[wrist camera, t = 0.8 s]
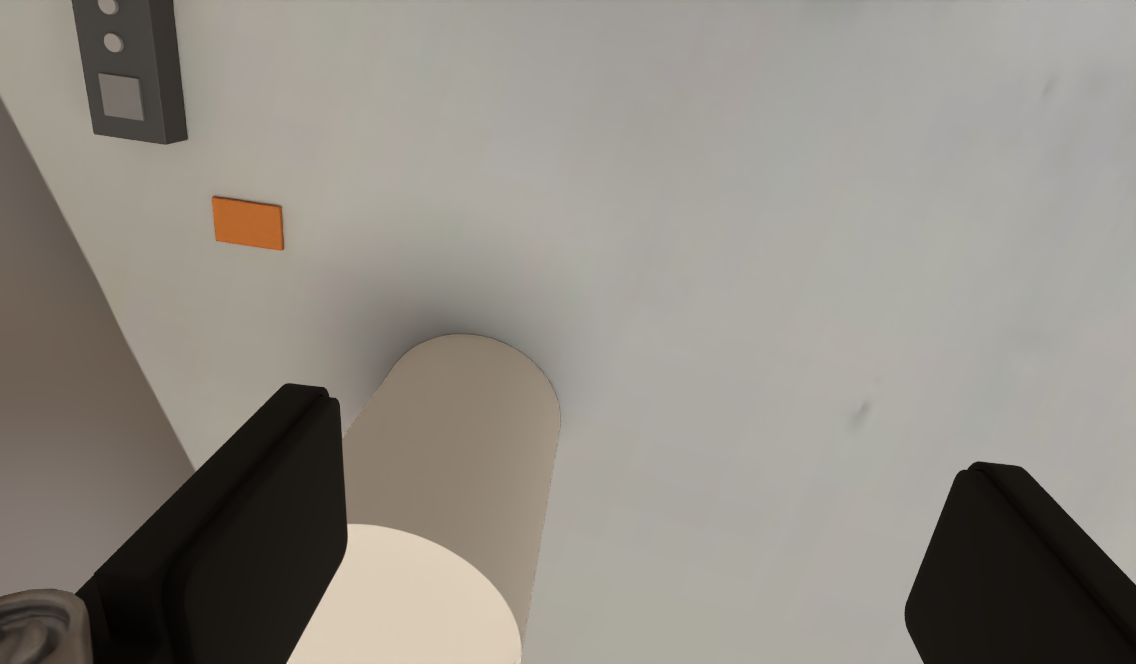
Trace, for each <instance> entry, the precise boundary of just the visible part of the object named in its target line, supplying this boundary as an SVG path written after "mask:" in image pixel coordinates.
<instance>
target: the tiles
mask: <svg viewBox="0 0 1136 664" xmlns="http://www.w3.org/2000/svg"><path fill="white" fill-rule="evenodd" d="M212 204H213V214H214V225H215V235H216V241H221V242H227V243H234V244H241V245H247V246H254V247H261V248H267V249H274V250H281V251H282V250H284V244H283V226H282V207H280V206H273V205H267V204H260V203H253V202H246V201H239V200H233V199H226V198H219V197H212Z"/></svg>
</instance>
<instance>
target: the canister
mask: <svg viewBox="0 0 1136 664" xmlns="http://www.w3.org/2000/svg"><path fill="white" fill-rule="evenodd" d="M560 425H561V417H560V409H559V404H558V400H557V397H556V394H555V392H554V390H553V388H552V386H551V384H550V382H549V381H548V379H547V378H546V376H545V375H544V374H543V372H542V371H541V370H540V369H539V368H538V367H537V365H536V364H534V363H533V362H532V361H531V360H530V359H529V358H528V357H526V356H525V355H524V354H522V353H521V352H519V351H518V350H516V349H515V348H513V347H511V346H509V345H507V344H505V343H502V342H500V341H497V340H494V339H491V338H488V337H483V336H478V335H470V334H453V335H445V336H440V337H436V338H433V339H430V340H427V341H425V342H423V343H421V344H419V345H417V346H415V347H414V348H412V349H411V350H409V351H408V352H407V353H405V354H404V355H403V356H402V357H401V358H400V359H399V360H398V361H397V363H396V364H395V365H394V367H393V368H392V369H391V371H390V372H389V374H388V375H387V376H386V378H385V379H384V381H383V382H382V383H381V385H380V386H379V388H378V389H377V390H376V392H375V393H374V395H373V396H372V397H371V399H370V400H369V402H368V403H367V405H366V406H365V407H364V409H363V410H362V412H361V413H360V414H359V416H358V417H357V419H356V420H355V421H354V423H353V424H352V426H351V427H350V428H349V430H348V431H347V433H346V434H345V435H344V437H343V438H342V448H343V465H344V481H345V497H346V514H347V530H348V542H347V548H346V552H345V555H344V558H343V560H342V563H341V564H340V566H339V568H338V570H337V572H336V574H335V575H334V577H333V579H332V581H331V583H330V585H329V586H328V588H327V590H326V592H325V594H324V596H323V597H322V599H321V601H320V603H319V605H318V607H317V608H316V610H315V612H314V614H313V616H312V618H311V619H310V621H309V623H308V625H307V627H306V629H305V630H304V632H303V634H302V636H301V638H300V640H299V641H298V643H297V645H296V647H295V649H294V651H293V652H292V654H291V656H290V658H289V660H288V662H287V663H286V664H520V662H521V656H522V650H523V644H524V639H525V633H526V627H527V621H528V615H529V609H530V603H531V597H532V592H533V586H534V580H535V574H536V568H537V562H538V556H539V550H540V545H541V539H542V533H543V527H544V521H545V515H546V509H547V504H548V498H549V492H550V486H551V480H552V474H553V468H554V462H555V457H556V451H557V445H558V439H559V433H560Z"/></svg>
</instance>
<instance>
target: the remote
mask: <svg viewBox="0 0 1136 664" xmlns="http://www.w3.org/2000/svg"><path fill="white" fill-rule="evenodd" d="M72 5H73V11H74V17H75V23H76V29H77V35H78V41H79V47H80V53H81V59H82V65H83V71H84V77H85V83H86V89H87V95H88V101H89V107H90V113H91V119H92V125H93V131H94V134H97V135H104V136H110V137H117V138H124V139H131V140H138V141H145V142H151V143H158V144H165V145H166V144H171V143H175V142H179V141H184V140H187V131H186V122H185V113H184V104H183V95H182V85H181V76H180V67H179V58H178V49H177V39H176V30H175V21H174V12H173V3H172V0H72Z"/></svg>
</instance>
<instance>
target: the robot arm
mask: <svg viewBox="0 0 1136 664" xmlns="http://www.w3.org/2000/svg"><path fill="white" fill-rule="evenodd" d="M347 542H348V530H347V514H346V497H345V481H344V465H343V448H342V432H341V416H340V405H339V401H338V400H337V399H336V398H331V397H329V393H328V391H327V389H325V388H324V387H317V386H308V385H300V384H291V383H288V384H285V385H283V386H282V387H281V388H280V389H279V390H278V391H277V392H276V393H275V394H274V395H273V396H272V397H271V398H270V399H269V400H268V401H267V402H266V403H265V404H264V405H263V406H262V407H261V408H260V409H259V410H258V411H257V412H256V413H255V414H254V415H253V416H252V417H251V418H250V419H249V420H248V421H247V422H246V423H245V424H244V425H243V426H242V427H241V428H240V429H239V430H238V431H237V432H236V433H235V434H234V435H233V436H232V437H231V438H230V439H229V440H228V441H227V442H226V443H225V444H224V445H223V446H222V447H221V448H220V449H219V450H218V451H217V452H216V453H215V454H214V455H212V456H211V457H210V458H209V459H208V460H207V461H206V462H205V463H204V464H203V465H202V466H201V467H200V468H199V469H198V470H197V471H196V472H195V473H194V474H193V475H192V477H191V478H189V479H188V480H187V481H186V482H185V483H184V484H183V485H182V487H180V488H179V490H178V491H176V492H175V493H174V494H173V495H172V496H171V497H170V498H169V499H168V500H167V501H166V502H165V503H164V504H163V505H162V506H161V507H160V508H159V509H158V510H157V511H156V512H155V513H154V514H153V515H152V516H151V517H150V518H149V519H148V520H147V521H146V522H145V523H144V524H143V525H142V526H141V527H140V528H139V529H138V530H137V531H136V532H135V533H134V534H133V535H132V536H131V537H130V538H129V539H128V540H127V541H126V542H125V543H124V544H123V545H122V546H121V547H120V548H119V549H118V550H117V551H116V552H115V553H114V554H113V555H112V556H111V557H110V558H109V559H108V560H107V561H106V562H105V563H104V564H103V565H102V566H101V567H100V568H99V569H98V570H97V571H96V572H95V573H94V575H93V576H92V577H91V578H90V580H88V581H87V582H86V583H85V584H84V585H83V587H81V588H80V589H79V590H78V591H77V592H76V593H75V594H73V593H71V592H67V591H62V590H57V589H32V590H26V591H21V592H17V593H13V594H8V595H4V596H1V597H0V664H286V663H287V662H288V660H289V658H290V656H291V654H292V652H293V651H294V649H295V647H296V645H297V643H298V641H299V640H300V638H301V636H302V634H303V632H304V630H305V629H306V627H307V625H308V623H309V621H310V619H311V618H312V616H313V614H314V612H315V610H316V608H317V607H318V605H319V603H320V601H321V599H322V597H323V596H324V594H325V592H326V590H327V588H328V586H329V585H330V583H331V581H332V579H333V577H334V575H335V574H336V572H337V570H338V568H339V566H340V564H341V563H342V560H343V558H344V555H345V552H346V548H347ZM905 622H906V627H907V630H908V632H909V634H910V636H911V638H912V640H913V642H914V644H915V646H916V648H917V650H918V653H919V655H920V657H921V659H922V661H923V663H924V664H1136V585H1135V584H1134V583H1133V582H1132V581H1131V580H1130V579H1129V578H1128V576H1127V575H1126V574H1125V573H1124V572H1123V571H1122V570H1121V569H1120V568H1119V567H1118V566H1117V565H1116V564H1115V563H1114V562H1113V561H1112V560H1111V559H1110V558H1109V557H1108V556H1107V555H1106V553H1105V552H1104V551H1103V550H1102V549H1101V548H1100V547H1099V546H1098V545H1097V544H1096V543H1095V542H1094V541H1093V540H1092V539H1091V538H1090V537H1089V536H1088V535H1087V534H1086V533H1085V532H1084V530H1083V529H1082V528H1081V527H1080V526H1079V525H1078V524H1077V523H1076V522H1075V521H1074V520H1073V519H1072V518H1071V517H1070V516H1069V515H1068V514H1067V513H1066V512H1065V511H1064V510H1063V509H1062V508H1061V506H1060V505H1059V504H1058V503H1057V502H1056V501H1055V500H1054V499H1053V498H1052V497H1051V496H1050V495H1049V494H1048V493H1047V492H1046V491H1045V490H1044V489H1043V488H1042V487H1041V486H1040V485H1039V483H1038V482H1037V481H1036V480H1035V479H1034V478H1033V477H1032V476H1031V475H1030V474H1029V473H1028V472H1027V471H1026V470H1025V469H1023V468H1022V467H1019V466H1014V465H1005V464H996V463H988V462H979V461H978V462H975V463H973V464H972V465H971V466H970V467H969V468H968V470H961V471H960V472H959V473H958V474H957V475H956V477H955V479H954V482H953V484H952V487H951V489H950V492H949V494H948V497H947V500H946V502H945V505H944V507H943V510H942V512H941V515H940V517H939V520H938V523H937V525H936V528H935V530H934V533H933V535H932V538H931V541H930V543H929V546H928V548H927V551H926V553H925V556H924V559H923V561H922V564H921V566H920V569H919V571H918V574H917V577H916V579H915V582H914V584H913V587H912V589H911V592H910V595H909V597H908V600H907V602H906V606H905Z"/></svg>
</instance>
